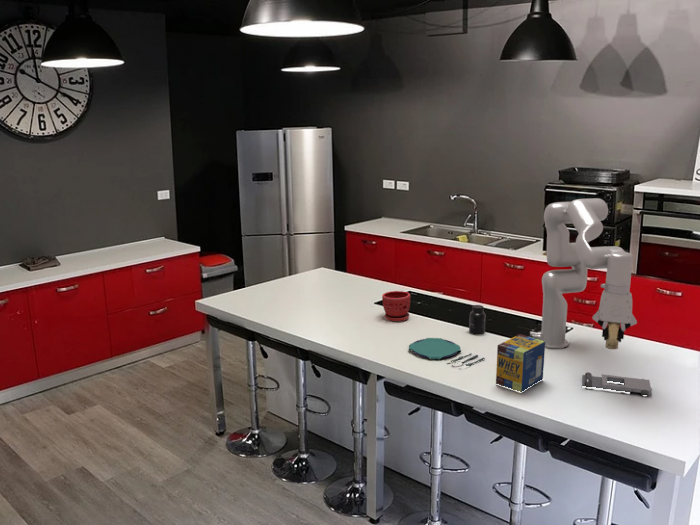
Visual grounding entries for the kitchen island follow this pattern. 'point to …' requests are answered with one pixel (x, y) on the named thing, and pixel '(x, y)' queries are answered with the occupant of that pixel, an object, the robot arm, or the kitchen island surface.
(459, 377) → the kitchen island surface
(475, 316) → the supplement bottle
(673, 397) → the kitchen island surface
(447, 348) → the cutlery set
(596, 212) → the robot arm
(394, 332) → the kitchen island surface
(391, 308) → the plant pot
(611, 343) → the brass pin
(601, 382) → the hinged hasp latch
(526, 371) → the protein box
